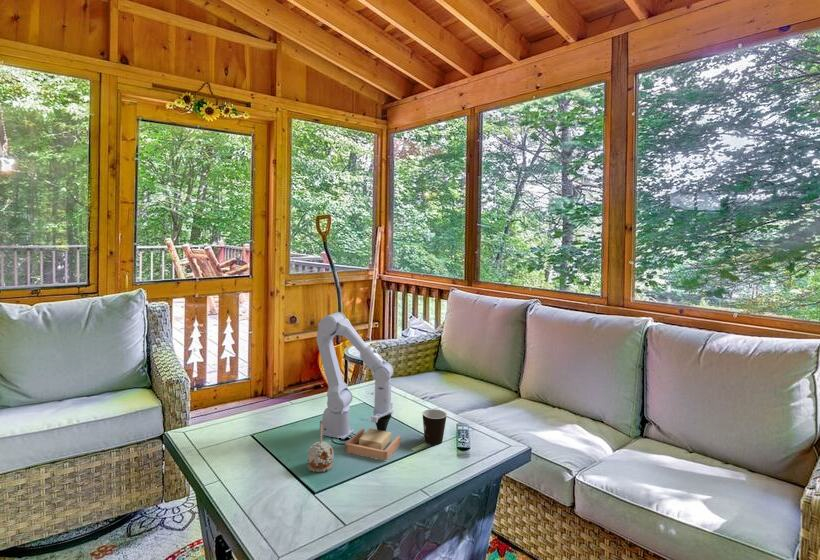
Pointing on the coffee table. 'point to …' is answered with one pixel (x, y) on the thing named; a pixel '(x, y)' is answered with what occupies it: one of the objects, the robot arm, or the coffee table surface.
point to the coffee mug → (434, 426)
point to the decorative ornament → (320, 455)
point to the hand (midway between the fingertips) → (381, 434)
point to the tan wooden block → (375, 439)
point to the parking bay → (370, 452)
